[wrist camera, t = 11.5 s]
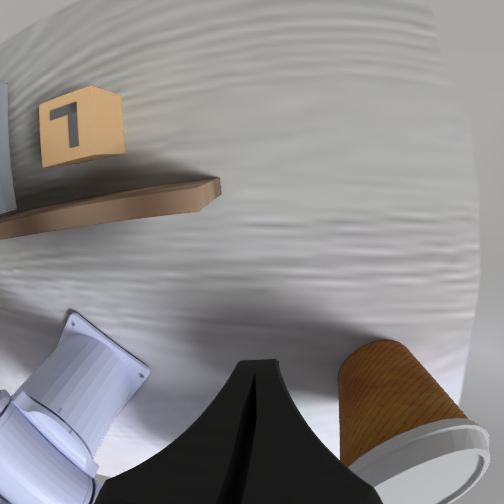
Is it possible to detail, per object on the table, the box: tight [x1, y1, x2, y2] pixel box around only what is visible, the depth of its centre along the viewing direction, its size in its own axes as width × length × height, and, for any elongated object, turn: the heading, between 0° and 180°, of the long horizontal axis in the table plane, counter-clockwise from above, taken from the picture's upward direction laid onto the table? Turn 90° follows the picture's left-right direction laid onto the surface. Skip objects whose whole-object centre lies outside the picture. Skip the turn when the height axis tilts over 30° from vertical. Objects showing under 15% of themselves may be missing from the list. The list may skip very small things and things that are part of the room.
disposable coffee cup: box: [338, 340, 490, 504], centre depth 17 cm, size 10×10×12 cm
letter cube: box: [39, 86, 125, 168], centre depth 16 cm, size 4×4×4 cm
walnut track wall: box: [0, 178, 221, 240], centre depth 17 cm, size 20×1×6 cm, turn 96°
